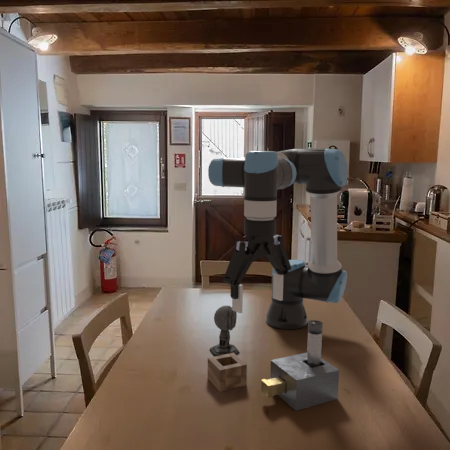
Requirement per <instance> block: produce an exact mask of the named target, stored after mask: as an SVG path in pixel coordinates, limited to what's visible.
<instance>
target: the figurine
mask: <svg viewBox="0 0 450 450" xmlns="http://www.w3.org/2000/svg"><path fill="white" fill-rule="evenodd" d="M237 313H238V312H236V311H233V310H232V306H231V305H222V306H220V307H218V308H217V310H216V311H215V312H214V314H213V315H214V316H213V319H214V320H213V321H214V324H215V326H216V327H217V328H218V329H219V330H220V332H219V336H218V339H219V343H218V344H216V345H214V346H211V347H210V348H209V352H210V354H211V355H212V357H215V356H220V355H225V354H230V353H234V354H235V355H237V356H238V354H240V351H239V349H238V348H237V347H236V346H235V344H231V343H230V340H231V334H230V331H232V330H234V328H235V327H236V324H237V318H238V317H237Z"/></svg>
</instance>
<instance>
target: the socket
mask: <svg viewBox="0 0 450 450" xmlns="http://www.w3.org/2000/svg"><path fill="white" fill-rule="evenodd" d="M277 377H281V378H283V379H284V380H285V381H286V382H287V389H286V392H285V393H281V394H277V396H278V397H279V398H280V399H281V400H283V401H284V402H285V403H286V404H287V405H288V406H289V407H291V409H292V410H294V411H295V412H296V411H301V410H303V409H307V408H310V407H314V406H317V405H321V404H322V405H323V404H325V403H328V402H332V401H336V400H338V398H339V397H338V396H339V381H340V380H339V378H340V369H338V368H337V367H336V366H334V365H333V364H331V363H329V362H328V361H326V360H324V358H322V357H321V366H318V367H314V368H311V367H310V366H308V365H307V351H306V352H303V353H297V354H293V355H289V356H283V357H278V358H274V359H270V375H269V379H272V378H277Z"/></svg>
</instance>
